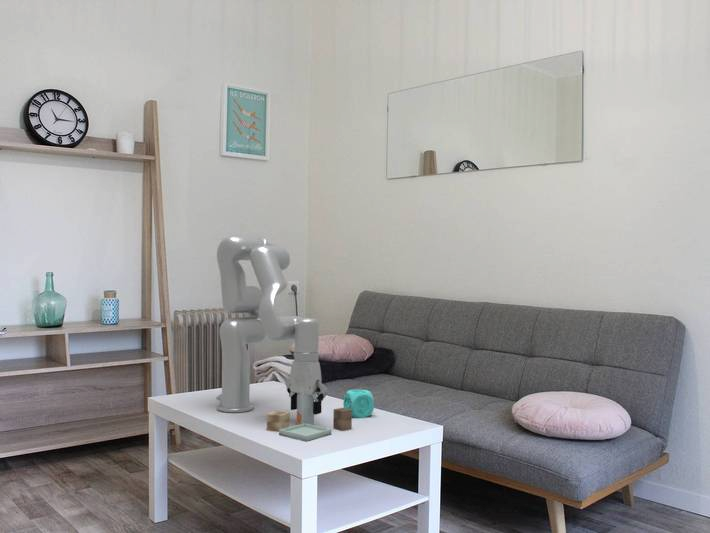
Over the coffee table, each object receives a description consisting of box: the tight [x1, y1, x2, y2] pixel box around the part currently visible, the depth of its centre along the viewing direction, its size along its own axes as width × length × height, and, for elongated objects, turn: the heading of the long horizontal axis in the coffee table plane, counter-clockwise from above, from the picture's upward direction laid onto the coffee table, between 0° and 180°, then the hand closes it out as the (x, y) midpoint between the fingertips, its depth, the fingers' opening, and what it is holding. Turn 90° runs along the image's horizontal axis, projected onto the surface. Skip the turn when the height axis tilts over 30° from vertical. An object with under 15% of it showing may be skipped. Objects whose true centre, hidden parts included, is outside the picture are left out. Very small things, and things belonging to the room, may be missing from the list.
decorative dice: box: [343, 389, 375, 419], centre depth 227 cm, size 8×8×8 cm
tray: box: [278, 423, 333, 442], centre depth 200 cm, size 11×11×2 cm
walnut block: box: [332, 407, 353, 432], centre depth 208 cm, size 4×4×6 cm
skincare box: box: [296, 389, 315, 425], centre depth 212 cm, size 6×4×12 cm
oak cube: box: [266, 410, 290, 433], centre depth 206 cm, size 5×5×5 cm
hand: (305, 411), depth 212 cm, fingers open, 9 cm apart
